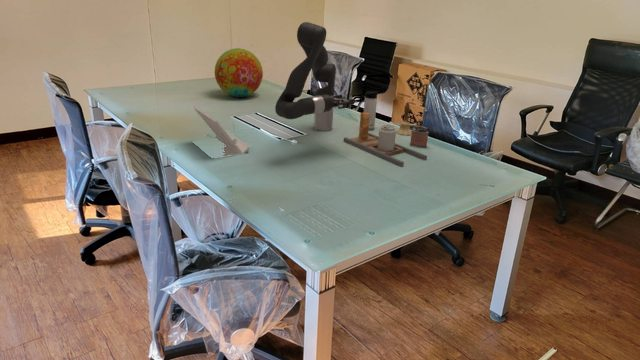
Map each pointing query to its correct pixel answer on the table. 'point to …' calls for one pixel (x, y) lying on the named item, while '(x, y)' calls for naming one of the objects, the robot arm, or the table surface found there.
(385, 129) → the can
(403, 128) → the hand bell
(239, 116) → the table surface
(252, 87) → the globe
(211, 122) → the tablet stand
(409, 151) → the rail
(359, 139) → the brown post on base
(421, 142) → the lighter
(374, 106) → the travel mug
